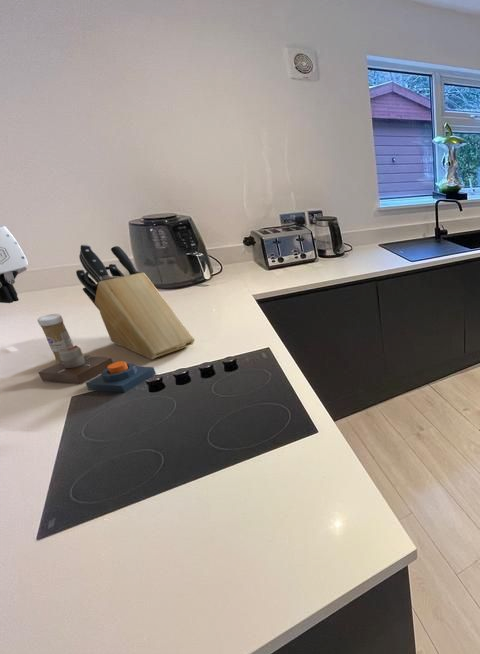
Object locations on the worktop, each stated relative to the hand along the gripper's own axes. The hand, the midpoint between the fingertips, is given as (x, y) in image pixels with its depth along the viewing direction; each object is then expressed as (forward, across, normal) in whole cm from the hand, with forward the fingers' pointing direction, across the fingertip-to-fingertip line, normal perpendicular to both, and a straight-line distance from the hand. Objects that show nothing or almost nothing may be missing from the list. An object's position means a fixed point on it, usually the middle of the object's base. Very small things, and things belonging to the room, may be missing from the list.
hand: (8, 301), depth 92 cm
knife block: (+25, +27, +1) cm, 37 cm away
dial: (+22, +8, +2) cm, 24 cm away
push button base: (+25, +6, -13) cm, 29 cm away
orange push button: (+22, +6, -13) cm, 26 cm away
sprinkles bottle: (+25, +15, +14) cm, 33 cm away
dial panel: (+25, +8, +2) cm, 26 cm away
